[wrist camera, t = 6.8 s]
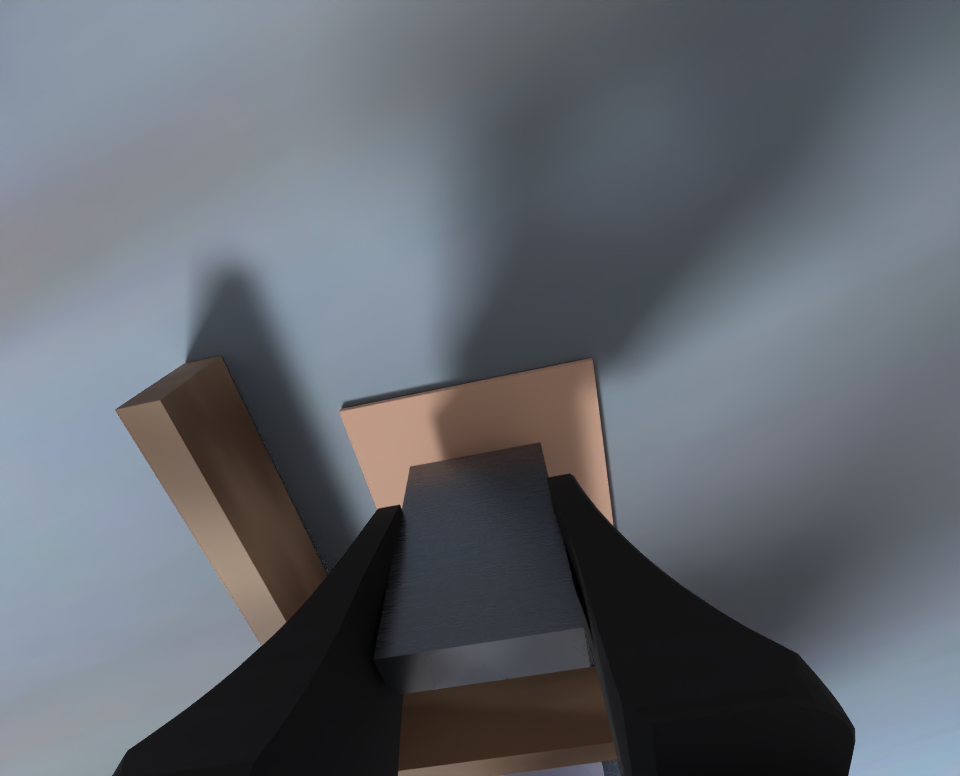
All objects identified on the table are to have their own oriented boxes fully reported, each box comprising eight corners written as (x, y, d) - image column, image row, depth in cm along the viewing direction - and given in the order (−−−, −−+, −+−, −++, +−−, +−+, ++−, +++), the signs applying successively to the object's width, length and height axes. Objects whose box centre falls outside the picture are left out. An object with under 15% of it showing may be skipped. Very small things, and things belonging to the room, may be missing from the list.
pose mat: (622, 607, 19) (624, 611, 19) (429, 637, 19) (429, 642, 19) (591, 358, 14) (592, 360, 14) (340, 409, 15) (339, 411, 15)
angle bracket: (410, 466, 14) (373, 659, 9) (540, 442, 14) (583, 627, 9) (462, 615, 17) (458, 824, 12) (569, 599, 17) (614, 805, 12)
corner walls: (698, 668, 20) (732, 745, 18) (369, 715, 22) (354, 794, 19) (685, 254, 13) (741, 277, 10) (183, 363, 14) (114, 409, 11)
